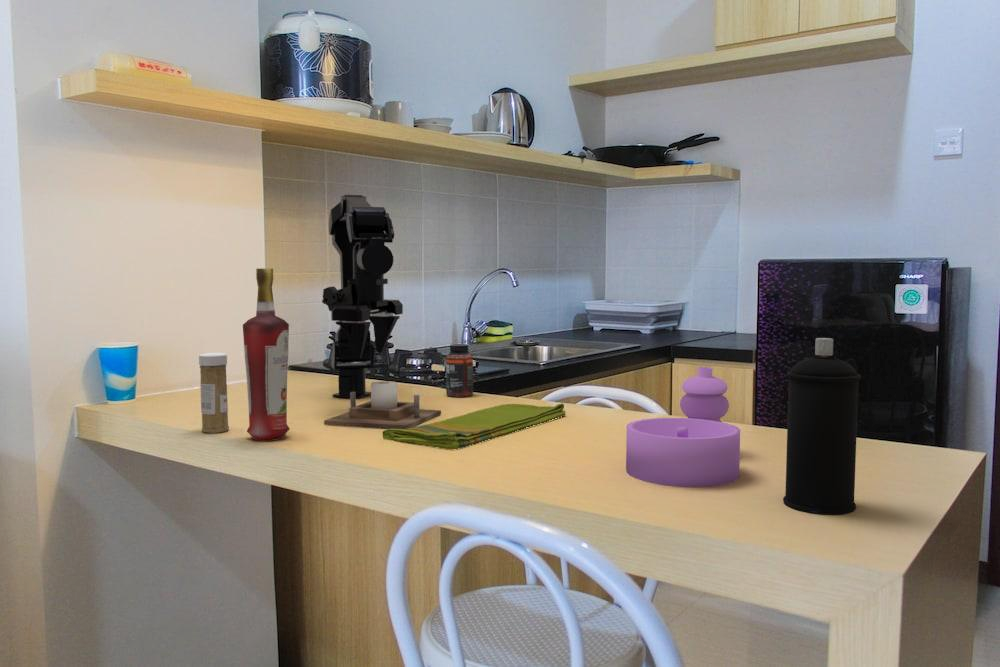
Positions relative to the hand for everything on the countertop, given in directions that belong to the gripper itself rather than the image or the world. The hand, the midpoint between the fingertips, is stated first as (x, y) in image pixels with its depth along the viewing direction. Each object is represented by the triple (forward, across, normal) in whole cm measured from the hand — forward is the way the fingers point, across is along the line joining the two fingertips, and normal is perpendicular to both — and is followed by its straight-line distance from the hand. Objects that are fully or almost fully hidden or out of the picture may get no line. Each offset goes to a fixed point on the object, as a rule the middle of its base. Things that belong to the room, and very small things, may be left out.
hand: (369, 355), depth 161 cm
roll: (+10, +5, +6) cm, 13 cm away
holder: (+11, +5, +6) cm, 13 cm away
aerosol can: (+9, +40, +79) cm, 89 cm away
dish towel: (+12, +6, +25) cm, 28 cm away
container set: (+10, +24, +63) cm, 68 cm away
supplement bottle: (+12, -26, +9) cm, 30 cm away
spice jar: (+11, +24, -18) cm, 32 cm away
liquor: (+11, +26, -6) cm, 29 cm away
